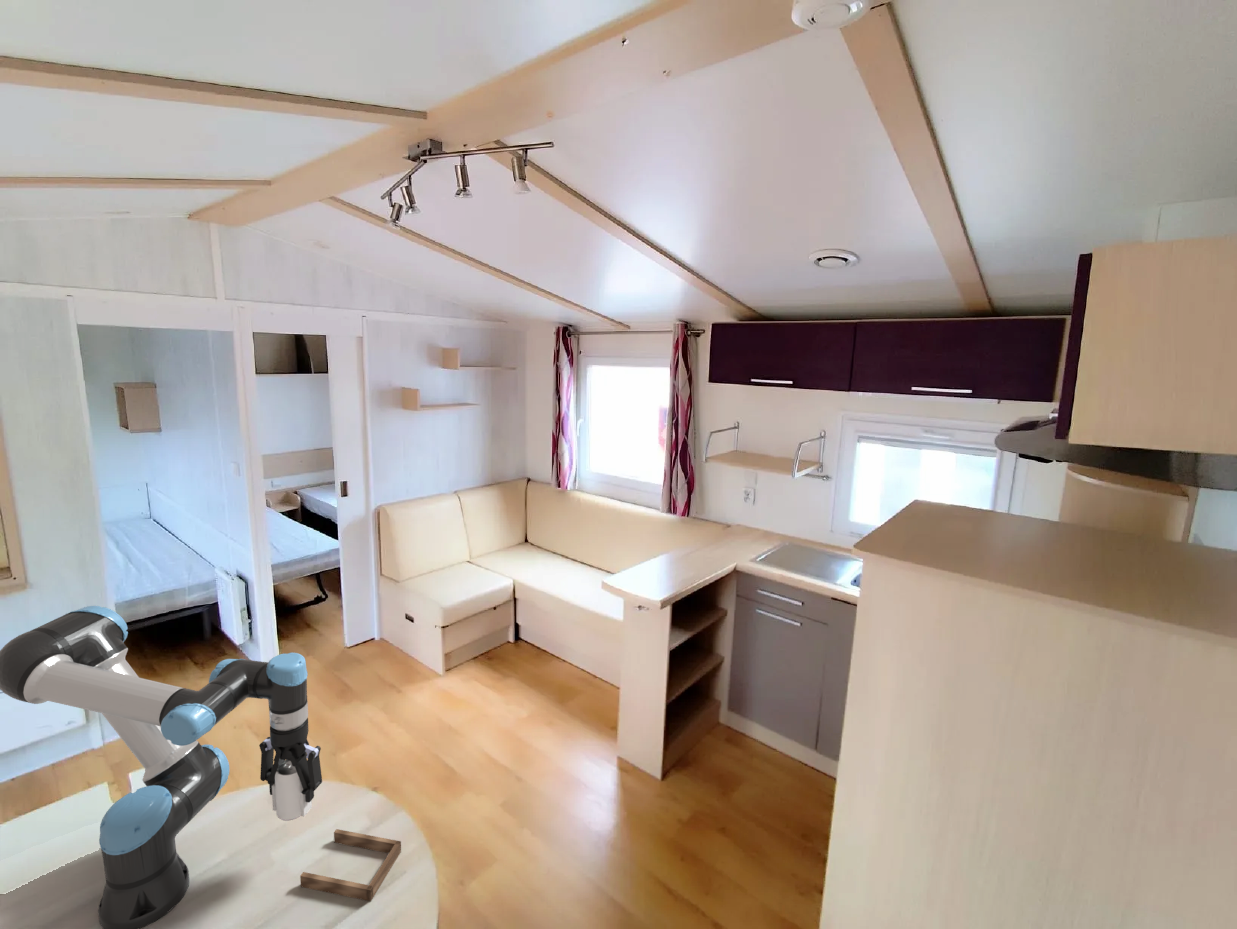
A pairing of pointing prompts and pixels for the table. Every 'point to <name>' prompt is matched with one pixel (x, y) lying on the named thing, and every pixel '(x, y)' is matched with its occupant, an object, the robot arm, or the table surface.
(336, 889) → the open wooden frame
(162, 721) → the robot arm
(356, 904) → the table surface
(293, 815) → the can
